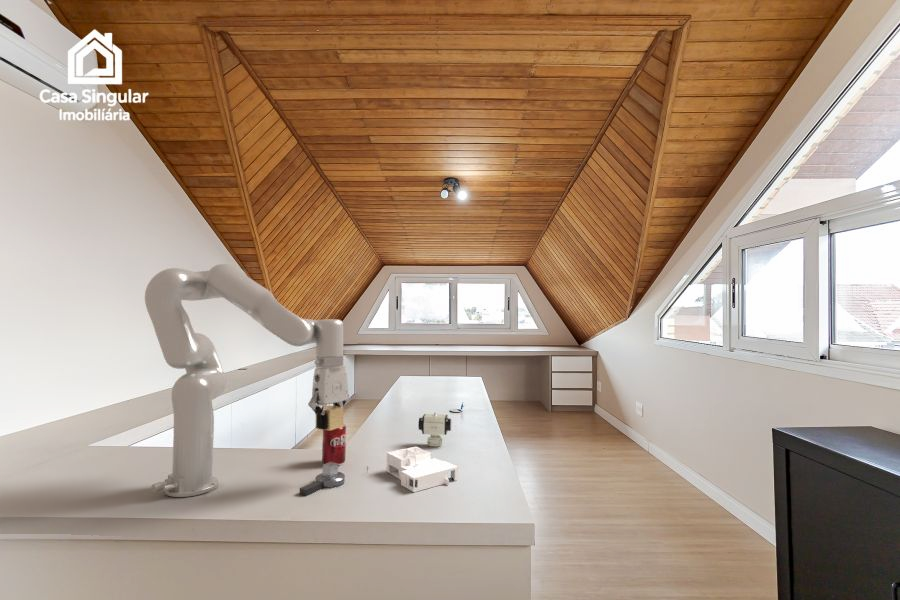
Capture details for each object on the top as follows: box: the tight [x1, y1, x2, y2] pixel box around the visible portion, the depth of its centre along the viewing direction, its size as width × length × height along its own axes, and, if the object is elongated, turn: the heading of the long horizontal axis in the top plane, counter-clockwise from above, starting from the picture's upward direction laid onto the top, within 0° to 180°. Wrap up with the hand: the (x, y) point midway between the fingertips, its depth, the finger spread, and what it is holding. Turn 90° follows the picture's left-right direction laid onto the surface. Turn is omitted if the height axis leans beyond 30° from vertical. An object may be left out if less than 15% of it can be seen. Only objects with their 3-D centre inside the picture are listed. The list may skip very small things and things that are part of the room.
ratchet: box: [299, 462, 346, 497], centre depth 123 cm, size 14×8×5 cm, turn 151°
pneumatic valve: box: [418, 412, 452, 448], centre depth 162 cm, size 6×12×12 cm, turn 85°
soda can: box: [321, 423, 347, 466], centre depth 142 cm, size 7×7×12 cm
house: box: [366, 446, 459, 493], centre depth 130 cm, size 22×18×6 cm
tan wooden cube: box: [315, 404, 344, 431], centre depth 126 cm, size 5×5×6 cm
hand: (329, 425), depth 126 cm, fingers closed on tan wooden cube, 5 cm apart
